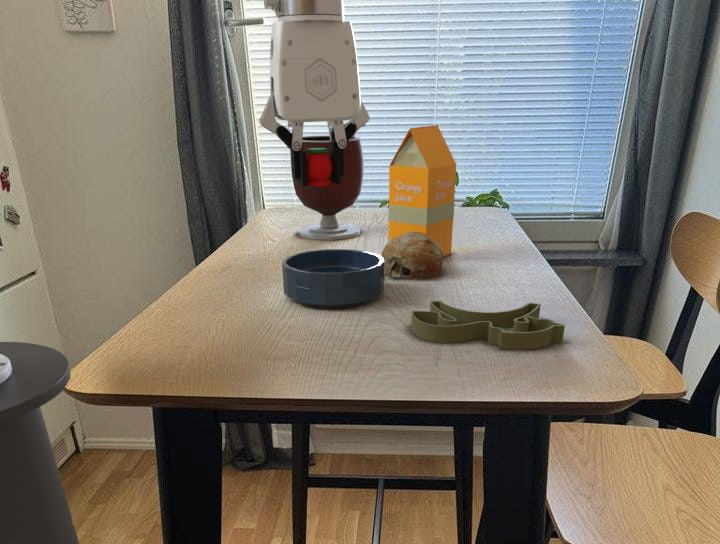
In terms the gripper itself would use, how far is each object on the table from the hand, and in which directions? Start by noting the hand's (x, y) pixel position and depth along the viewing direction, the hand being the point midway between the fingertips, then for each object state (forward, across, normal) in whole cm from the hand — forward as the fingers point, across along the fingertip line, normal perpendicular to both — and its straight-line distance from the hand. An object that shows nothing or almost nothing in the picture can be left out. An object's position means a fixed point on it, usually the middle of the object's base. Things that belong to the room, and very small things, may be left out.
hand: (318, 182), depth 85 cm
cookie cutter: (+16, +15, -19) cm, 29 cm away
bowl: (+16, +3, +3) cm, 16 cm away
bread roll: (+16, +18, +11) cm, 27 cm away
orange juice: (+16, +24, +21) cm, 36 cm away
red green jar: (0, 0, 0) cm, 0 cm away
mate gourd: (+16, +16, +45) cm, 51 cm away
